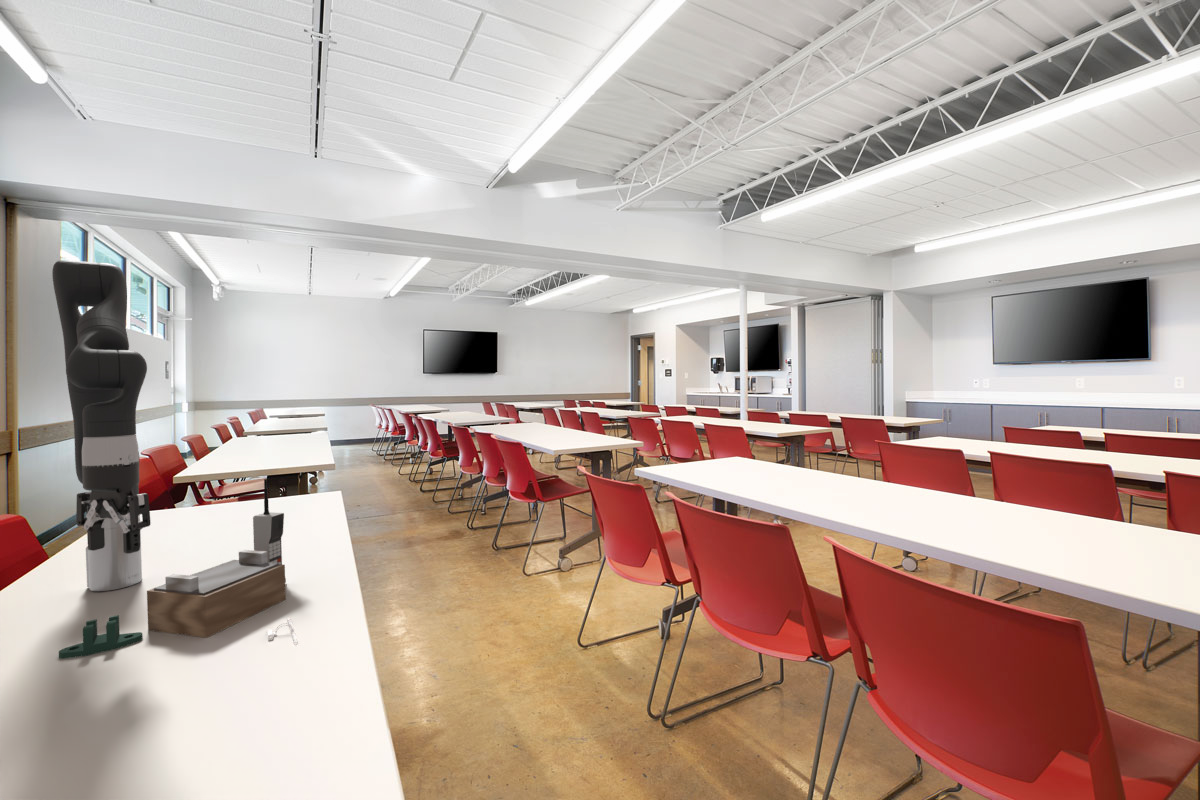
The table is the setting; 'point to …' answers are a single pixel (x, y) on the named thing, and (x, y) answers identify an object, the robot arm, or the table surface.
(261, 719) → the table surface
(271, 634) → the picture light
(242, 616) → the tray
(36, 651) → the table surface
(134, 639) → the mount
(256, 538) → the vintage mobile phone
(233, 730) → the table surface
